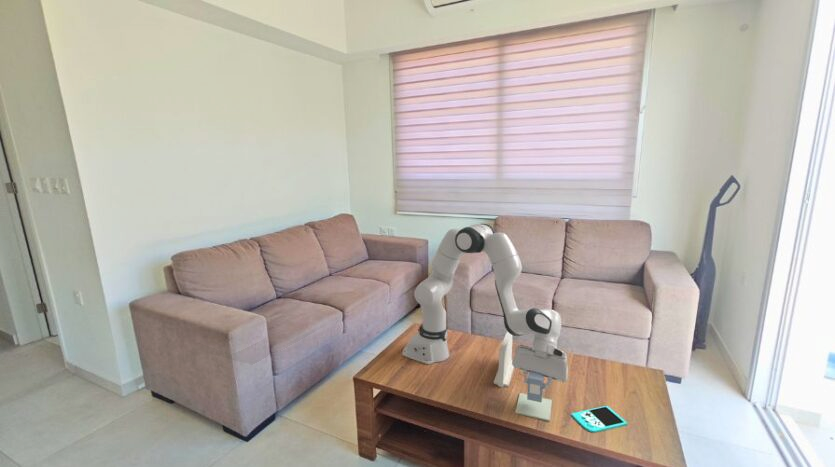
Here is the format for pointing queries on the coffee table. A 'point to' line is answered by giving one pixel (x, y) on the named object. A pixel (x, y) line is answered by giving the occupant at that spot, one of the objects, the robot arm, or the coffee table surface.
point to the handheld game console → (598, 419)
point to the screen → (505, 362)
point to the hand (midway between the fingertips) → (535, 386)
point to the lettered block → (535, 386)
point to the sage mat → (534, 407)
